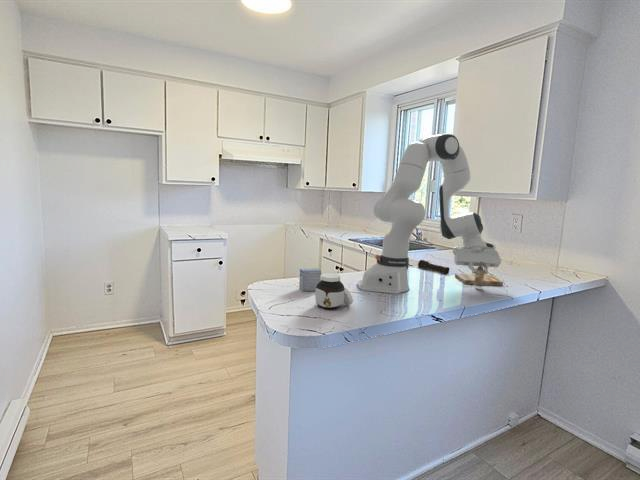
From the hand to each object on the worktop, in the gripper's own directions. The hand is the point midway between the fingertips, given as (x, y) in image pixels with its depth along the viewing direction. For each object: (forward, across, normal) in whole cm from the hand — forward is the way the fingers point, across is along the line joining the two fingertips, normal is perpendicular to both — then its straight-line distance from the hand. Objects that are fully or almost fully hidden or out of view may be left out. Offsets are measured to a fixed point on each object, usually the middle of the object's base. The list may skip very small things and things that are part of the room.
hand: (480, 273), depth 162 cm
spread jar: (+29, -66, -18) cm, 74 cm away
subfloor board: (-5, +5, +15) cm, 16 cm away
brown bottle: (+4, 0, +5) cm, 6 cm away
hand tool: (-18, -12, +28) cm, 36 cm away
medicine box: (+16, -76, -4) cm, 77 cm away
